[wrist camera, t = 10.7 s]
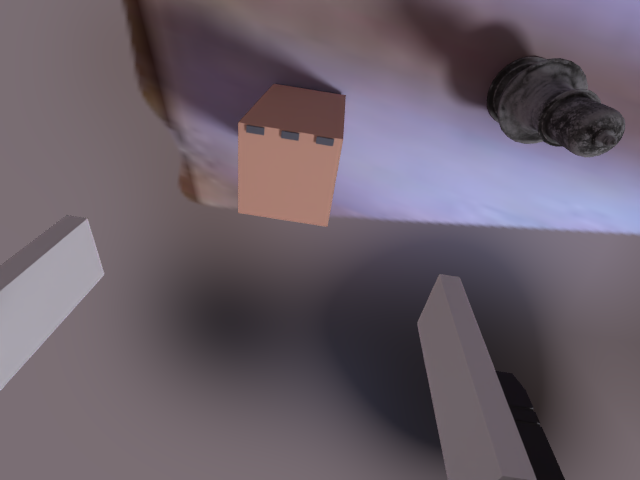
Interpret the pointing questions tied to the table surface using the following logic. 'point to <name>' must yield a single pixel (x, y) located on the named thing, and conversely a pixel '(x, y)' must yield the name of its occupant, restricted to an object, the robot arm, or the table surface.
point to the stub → (290, 154)
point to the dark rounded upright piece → (553, 107)
